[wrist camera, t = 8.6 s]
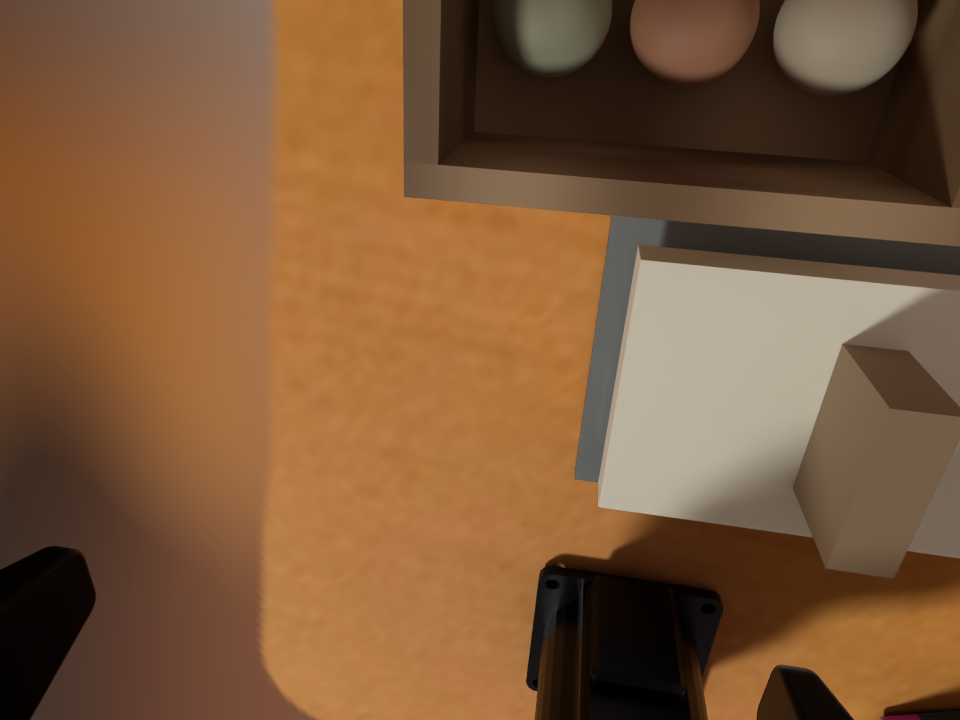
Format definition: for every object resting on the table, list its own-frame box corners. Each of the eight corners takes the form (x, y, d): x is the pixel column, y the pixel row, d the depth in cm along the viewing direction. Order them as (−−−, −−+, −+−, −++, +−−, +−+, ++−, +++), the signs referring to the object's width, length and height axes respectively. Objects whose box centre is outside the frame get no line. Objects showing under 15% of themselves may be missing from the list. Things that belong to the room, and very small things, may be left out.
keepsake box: (992, -160, 13) (1183, -244, 9) (878, 187, 17) (978, 247, 12) (460, -171, 15) (401, -250, 10) (451, 152, 18) (404, 196, 14)
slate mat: (992, 526, 21) (1000, 537, 20) (574, 469, 22) (574, 479, 22) (1141, 250, 16) (1156, 256, 16) (613, 204, 18) (613, 208, 17)
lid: (1111, 278, 16) (1309, 379, 12) (985, 514, 20) (1100, 662, 15) (636, 233, 18) (649, 308, 13) (598, 462, 21) (598, 584, 17)
